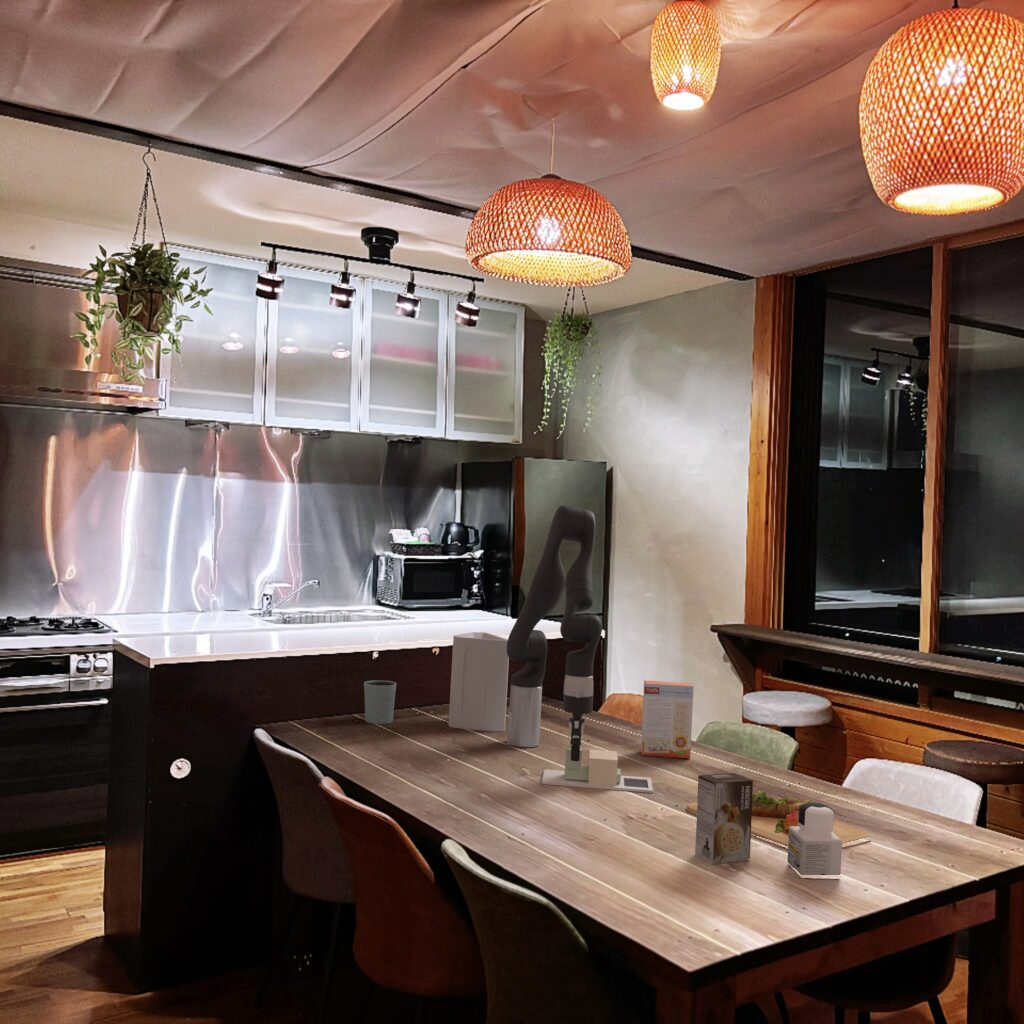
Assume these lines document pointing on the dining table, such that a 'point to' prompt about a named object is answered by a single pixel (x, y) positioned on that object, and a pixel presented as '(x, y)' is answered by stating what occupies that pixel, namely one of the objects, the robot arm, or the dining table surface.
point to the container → (815, 842)
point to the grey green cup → (379, 701)
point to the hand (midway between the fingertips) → (575, 756)
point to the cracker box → (667, 719)
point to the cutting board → (784, 819)
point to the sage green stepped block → (579, 768)
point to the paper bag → (479, 682)
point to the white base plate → (601, 775)
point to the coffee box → (724, 818)
